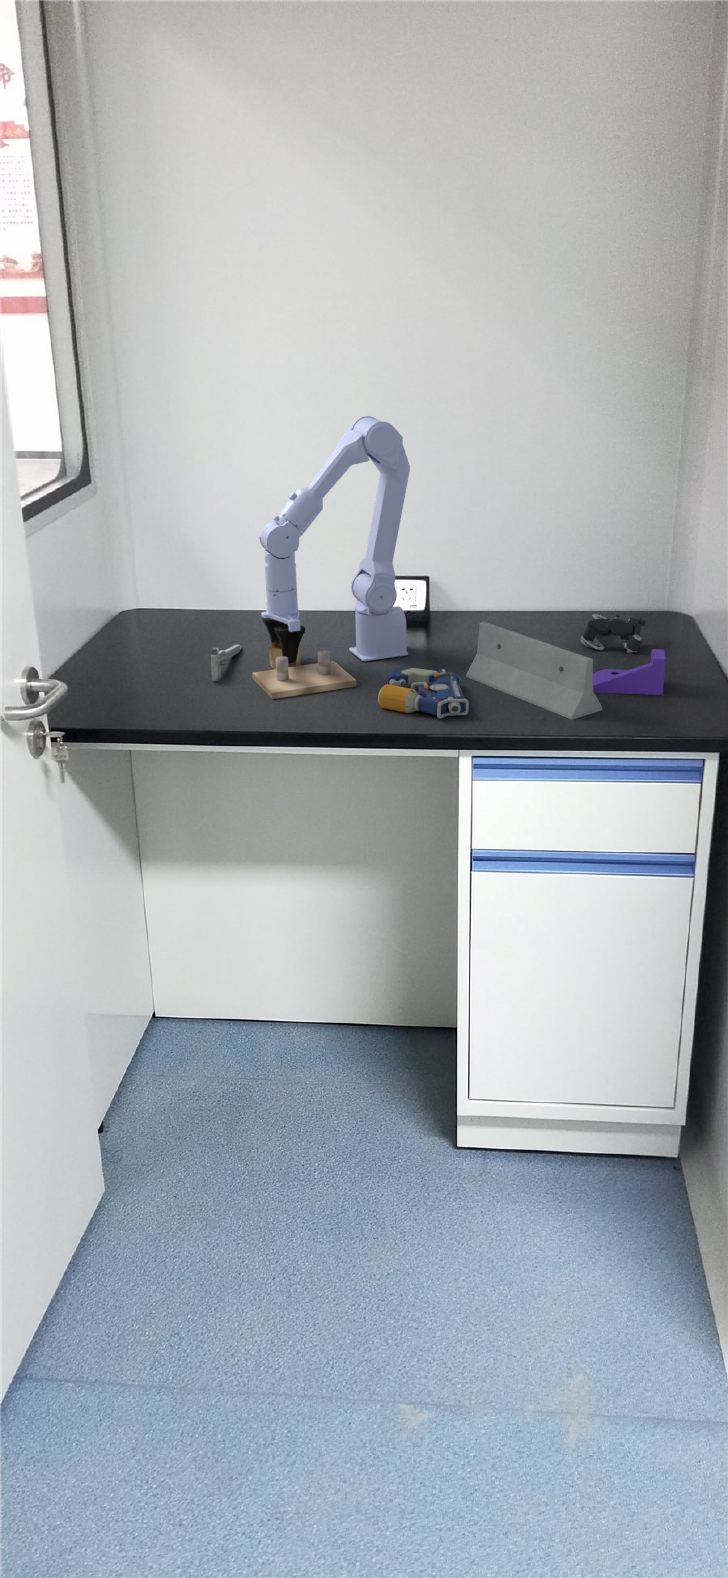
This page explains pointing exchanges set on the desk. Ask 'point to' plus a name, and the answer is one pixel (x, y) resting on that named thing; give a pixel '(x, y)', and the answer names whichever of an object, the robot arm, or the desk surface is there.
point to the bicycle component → (613, 631)
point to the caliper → (221, 659)
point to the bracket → (633, 678)
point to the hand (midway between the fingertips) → (285, 657)
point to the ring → (277, 652)
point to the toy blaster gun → (423, 692)
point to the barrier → (534, 672)
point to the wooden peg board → (303, 677)
